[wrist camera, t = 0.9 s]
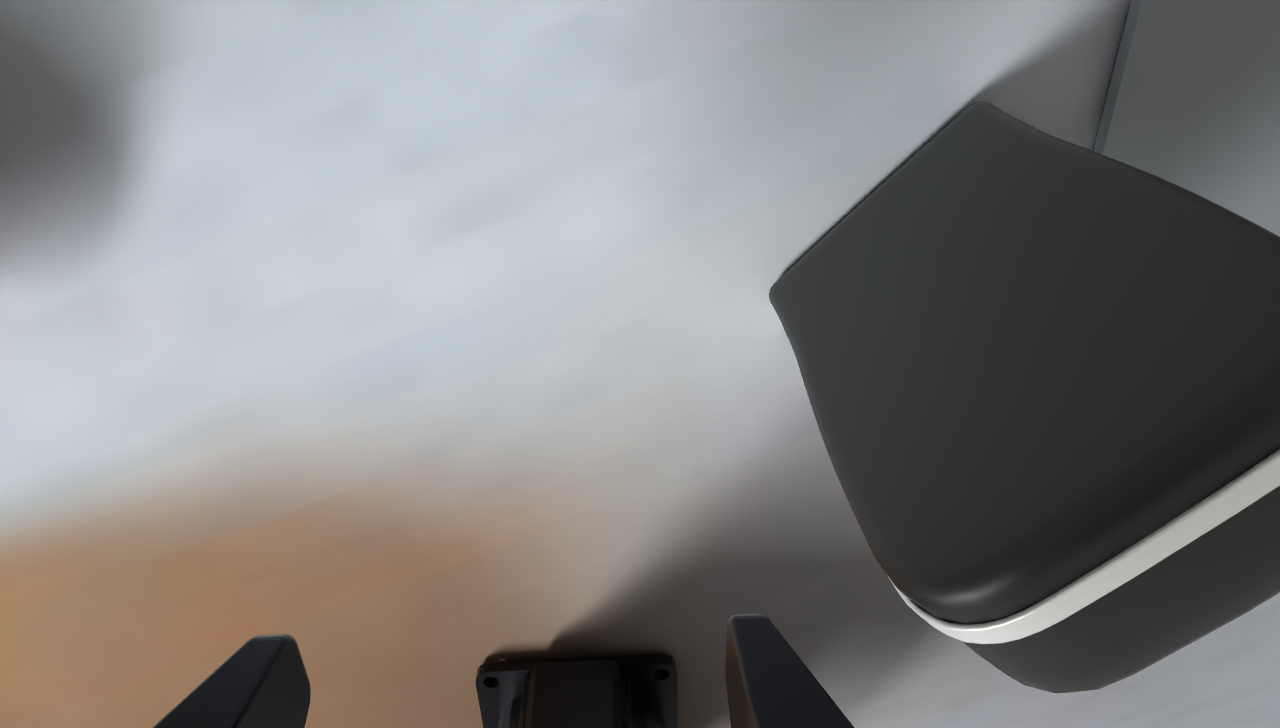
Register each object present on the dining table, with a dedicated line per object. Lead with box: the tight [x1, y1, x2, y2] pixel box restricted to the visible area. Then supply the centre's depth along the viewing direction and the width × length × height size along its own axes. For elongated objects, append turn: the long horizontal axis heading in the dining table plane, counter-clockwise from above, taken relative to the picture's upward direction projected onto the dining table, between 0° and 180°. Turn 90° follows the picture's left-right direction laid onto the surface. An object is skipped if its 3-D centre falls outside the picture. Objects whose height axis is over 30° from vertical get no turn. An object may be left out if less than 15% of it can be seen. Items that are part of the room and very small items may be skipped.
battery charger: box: [769, 102, 1280, 693], centre depth 15 cm, size 7×4×11 cm, turn 136°
